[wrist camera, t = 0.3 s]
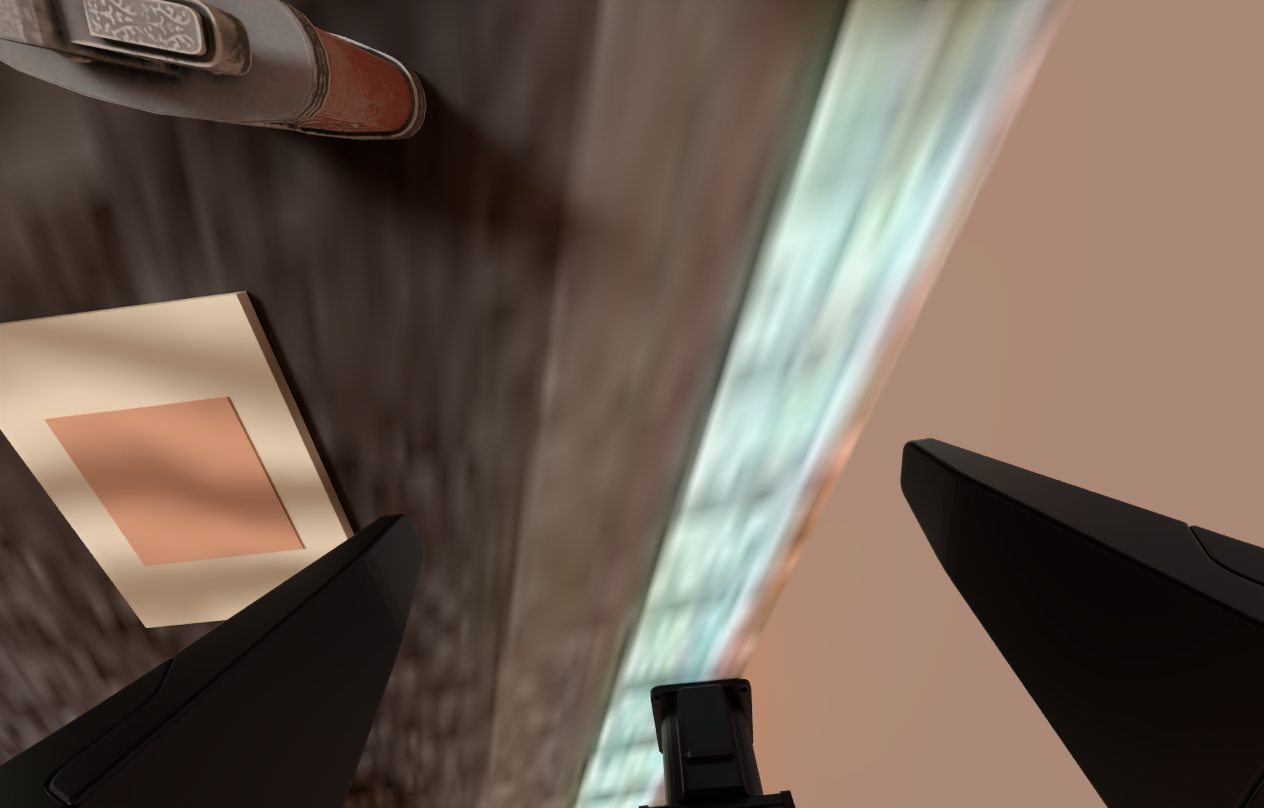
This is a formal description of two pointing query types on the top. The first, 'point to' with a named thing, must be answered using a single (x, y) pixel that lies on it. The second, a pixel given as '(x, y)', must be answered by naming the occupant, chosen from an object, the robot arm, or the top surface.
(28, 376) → the card
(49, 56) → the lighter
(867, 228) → the top surface
